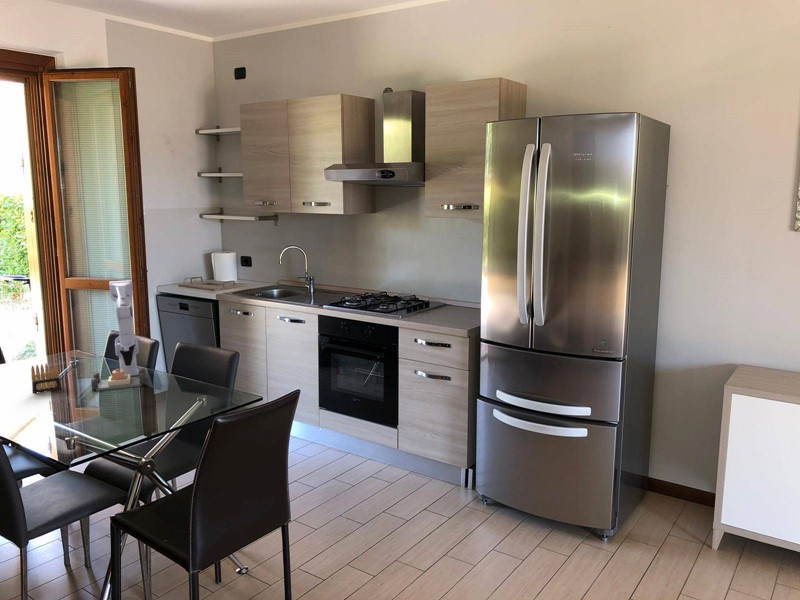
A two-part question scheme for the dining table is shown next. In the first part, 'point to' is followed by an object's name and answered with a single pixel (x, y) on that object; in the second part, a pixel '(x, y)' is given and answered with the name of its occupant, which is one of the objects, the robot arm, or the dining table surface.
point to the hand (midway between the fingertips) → (128, 363)
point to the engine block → (118, 374)
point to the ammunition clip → (48, 381)
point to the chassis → (118, 381)
